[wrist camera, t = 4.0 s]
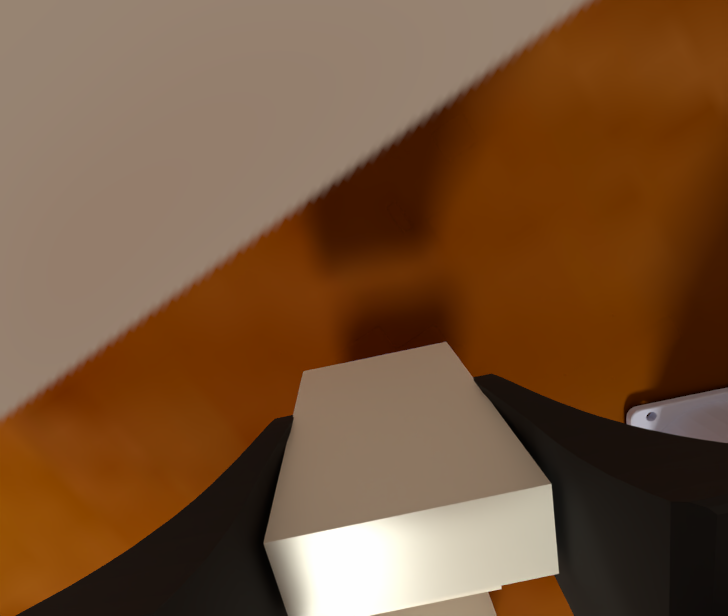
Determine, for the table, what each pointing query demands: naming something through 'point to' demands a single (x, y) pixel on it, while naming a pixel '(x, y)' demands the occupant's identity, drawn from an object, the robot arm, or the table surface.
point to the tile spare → (403, 490)
